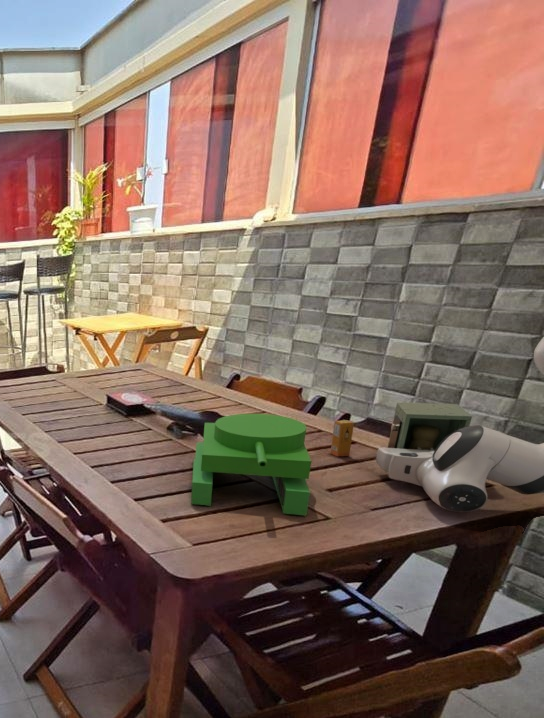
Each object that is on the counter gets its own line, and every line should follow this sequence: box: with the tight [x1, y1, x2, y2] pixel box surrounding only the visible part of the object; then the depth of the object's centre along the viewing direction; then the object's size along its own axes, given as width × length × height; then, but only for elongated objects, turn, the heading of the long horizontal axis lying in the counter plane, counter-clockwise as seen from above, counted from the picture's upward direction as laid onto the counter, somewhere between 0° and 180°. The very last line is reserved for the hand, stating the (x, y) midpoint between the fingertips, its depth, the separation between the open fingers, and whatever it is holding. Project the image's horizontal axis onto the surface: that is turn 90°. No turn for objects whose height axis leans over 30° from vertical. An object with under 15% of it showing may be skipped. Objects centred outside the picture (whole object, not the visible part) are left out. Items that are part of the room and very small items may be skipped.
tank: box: [190, 413, 312, 517], centre depth 124 cm, size 24×35×16 cm
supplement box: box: [330, 419, 355, 458], centre depth 139 cm, size 3×4×10 cm
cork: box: [408, 425, 439, 449], centre depth 127 cm, size 6×6×11 cm
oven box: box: [387, 402, 473, 450], centre depth 126 cm, size 13×11×16 cm
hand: (423, 450), depth 125 cm, fingers closed, pressing on cork
